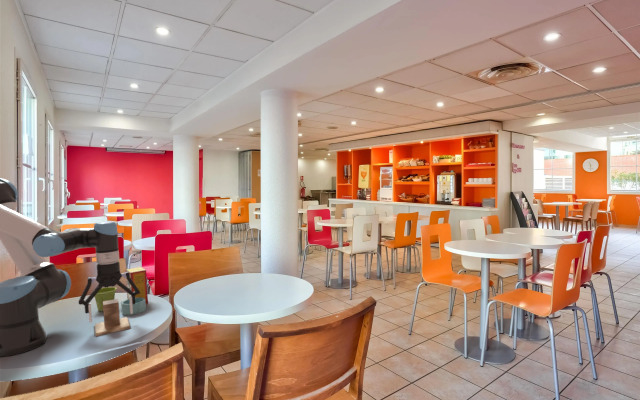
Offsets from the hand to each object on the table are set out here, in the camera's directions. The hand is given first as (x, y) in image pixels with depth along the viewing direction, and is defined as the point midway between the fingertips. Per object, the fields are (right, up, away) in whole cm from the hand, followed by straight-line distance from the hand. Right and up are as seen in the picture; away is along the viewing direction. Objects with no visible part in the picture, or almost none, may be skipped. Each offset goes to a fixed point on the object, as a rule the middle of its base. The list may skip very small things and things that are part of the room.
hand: (111, 316), depth 137 cm
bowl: (-1, -4, +18) cm, 18 cm away
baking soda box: (-6, -4, +31) cm, 32 cm away
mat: (0, -5, 0) cm, 5 cm away
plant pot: (-16, -4, +23) cm, 28 cm away
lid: (0, -4, 0) cm, 4 cm away
